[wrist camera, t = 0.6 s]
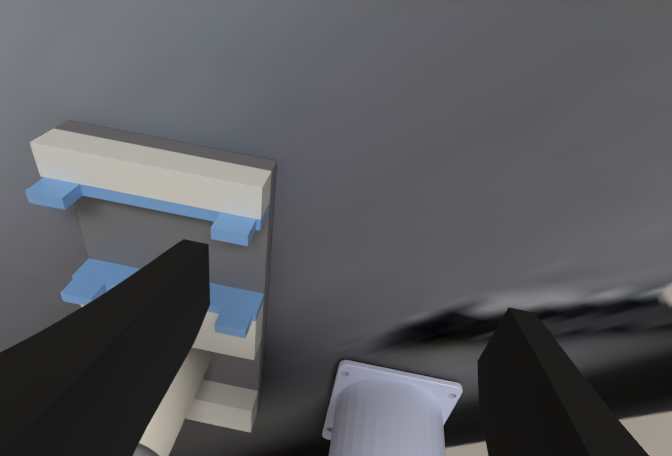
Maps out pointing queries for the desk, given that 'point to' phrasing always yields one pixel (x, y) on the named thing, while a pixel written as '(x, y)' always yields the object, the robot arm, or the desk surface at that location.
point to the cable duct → (173, 238)
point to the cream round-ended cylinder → (174, 406)
